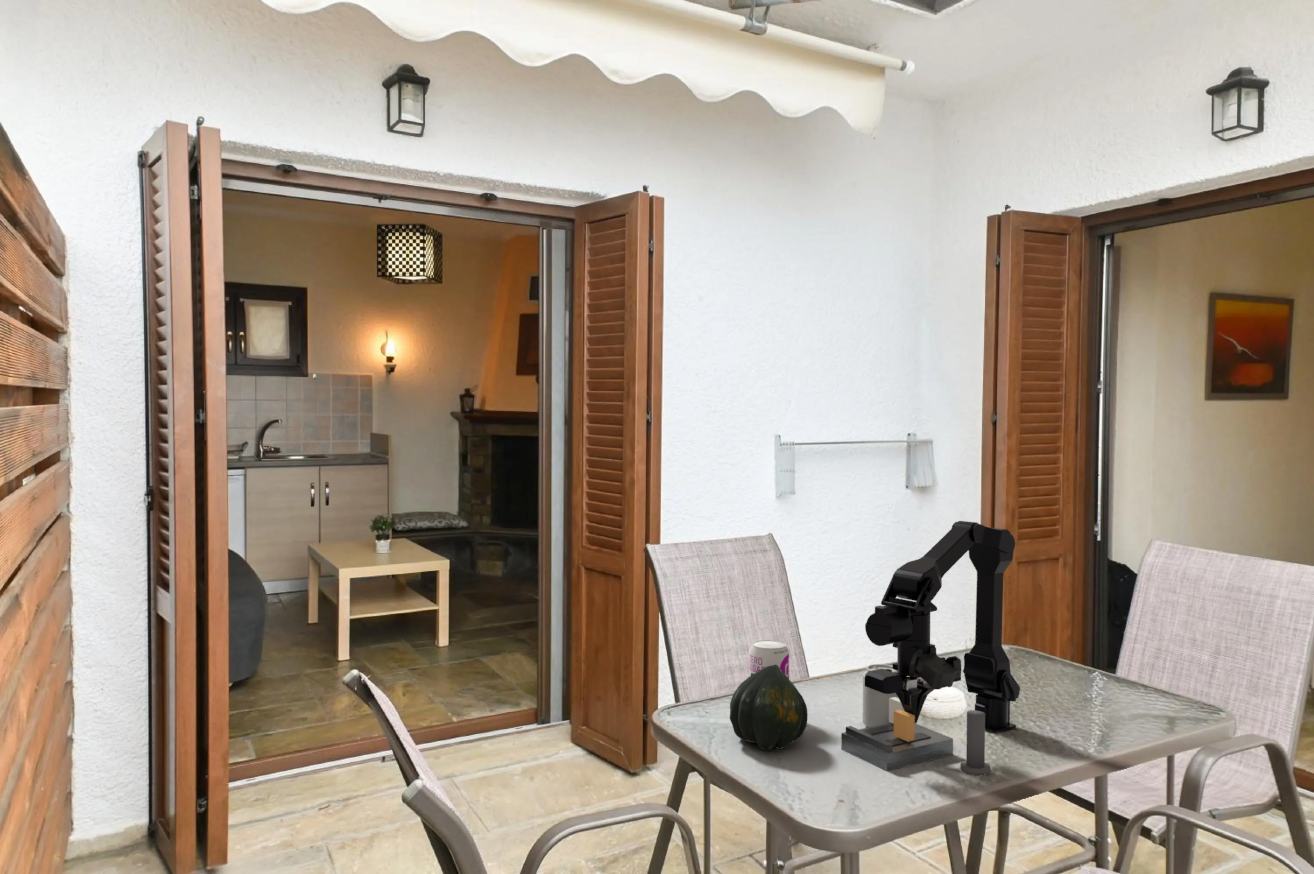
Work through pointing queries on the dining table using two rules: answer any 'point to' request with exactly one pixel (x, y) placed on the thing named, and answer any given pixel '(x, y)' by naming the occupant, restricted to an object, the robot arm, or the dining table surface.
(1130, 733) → the dining table surface
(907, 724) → the slider
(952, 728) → the dining table surface
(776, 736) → the squash
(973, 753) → the rubber post
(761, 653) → the supplement can
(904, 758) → the breaker block
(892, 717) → the slider
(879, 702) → the can
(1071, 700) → the dining table surface
